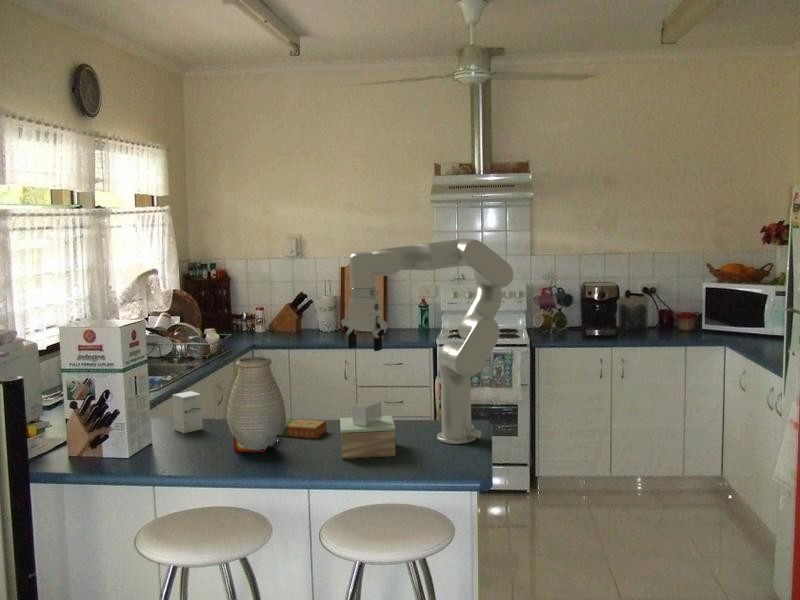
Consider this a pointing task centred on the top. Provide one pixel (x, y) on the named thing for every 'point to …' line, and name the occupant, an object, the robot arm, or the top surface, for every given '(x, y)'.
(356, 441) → the box
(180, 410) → the supplement box
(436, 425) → the top surface
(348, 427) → the lid
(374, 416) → the white rectangular block
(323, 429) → the carton
